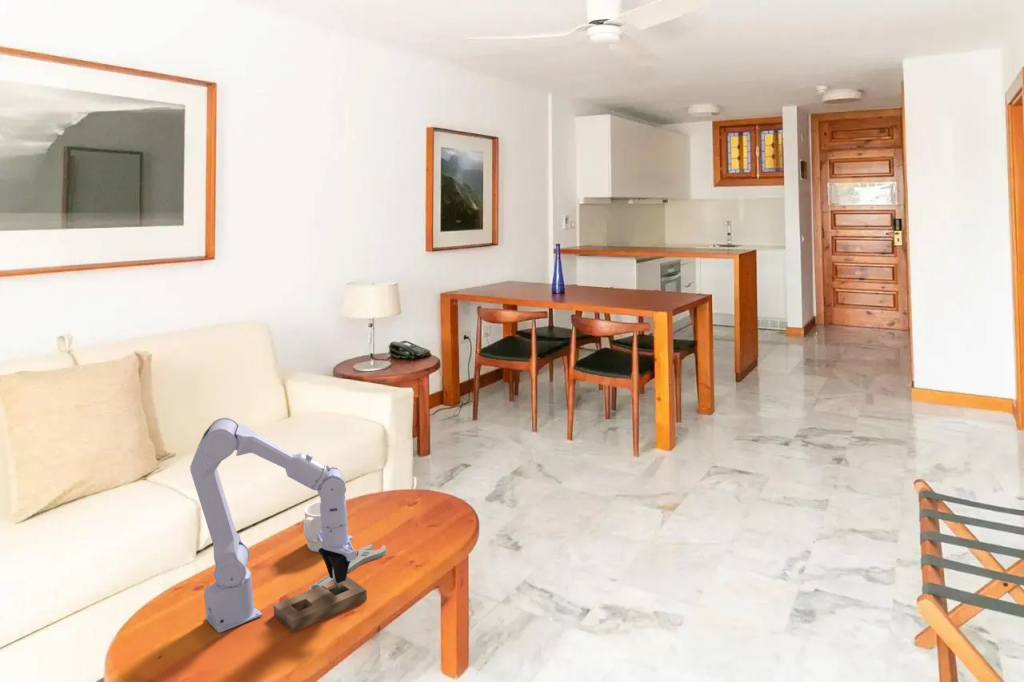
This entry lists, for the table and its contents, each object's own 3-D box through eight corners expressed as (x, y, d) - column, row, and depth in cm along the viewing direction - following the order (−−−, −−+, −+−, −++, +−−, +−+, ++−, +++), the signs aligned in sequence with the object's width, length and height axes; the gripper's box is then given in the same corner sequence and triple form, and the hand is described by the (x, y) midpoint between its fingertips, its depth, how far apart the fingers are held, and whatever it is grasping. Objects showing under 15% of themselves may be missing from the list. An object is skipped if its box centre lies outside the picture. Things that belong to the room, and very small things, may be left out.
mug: (323, 533, 193) (321, 498, 192) (353, 539, 189) (351, 503, 188) (292, 553, 182) (289, 516, 180) (323, 560, 178) (320, 522, 176)
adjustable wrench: (315, 597, 161) (314, 590, 161) (296, 590, 165) (296, 583, 165) (390, 553, 182) (389, 546, 181) (372, 547, 185) (372, 541, 185)
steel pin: (337, 598, 157) (335, 565, 156) (332, 594, 159) (330, 562, 158) (345, 594, 159) (343, 562, 158) (341, 591, 161) (338, 558, 159)
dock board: (292, 632, 147) (292, 620, 146) (274, 615, 153) (273, 604, 153) (366, 599, 159) (366, 588, 159) (346, 585, 165) (346, 574, 165)
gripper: (367, 527, 153) (370, 584, 156) (334, 508, 164) (337, 561, 166) (338, 537, 149) (342, 596, 151) (306, 517, 159) (310, 572, 161)
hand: (338, 578), depth 158 cm, fingers closed on steel pin, 2 cm apart
